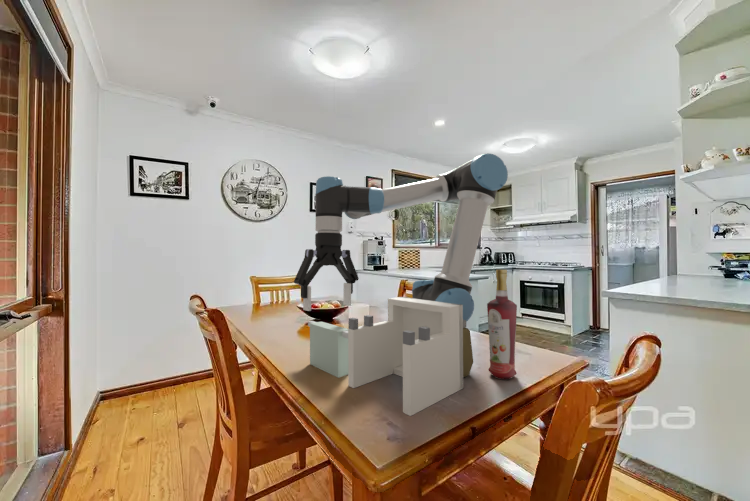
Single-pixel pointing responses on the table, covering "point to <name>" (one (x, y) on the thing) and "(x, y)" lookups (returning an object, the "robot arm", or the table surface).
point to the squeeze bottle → (467, 351)
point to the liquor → (502, 330)
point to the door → (329, 348)
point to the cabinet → (410, 350)
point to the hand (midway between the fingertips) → (328, 307)
